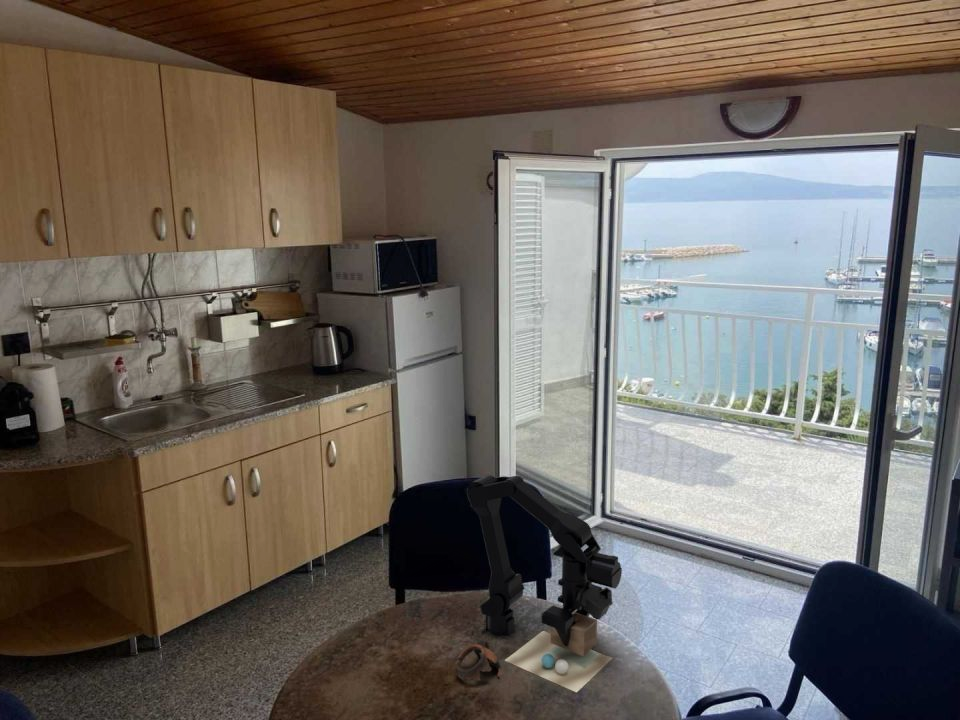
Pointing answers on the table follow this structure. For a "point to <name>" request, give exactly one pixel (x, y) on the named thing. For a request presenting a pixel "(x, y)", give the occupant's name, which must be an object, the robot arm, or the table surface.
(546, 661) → the marble teal
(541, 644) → the serving board
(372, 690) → the table surface
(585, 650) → the walnut cover
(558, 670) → the marble ivory
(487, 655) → the pottery mug
